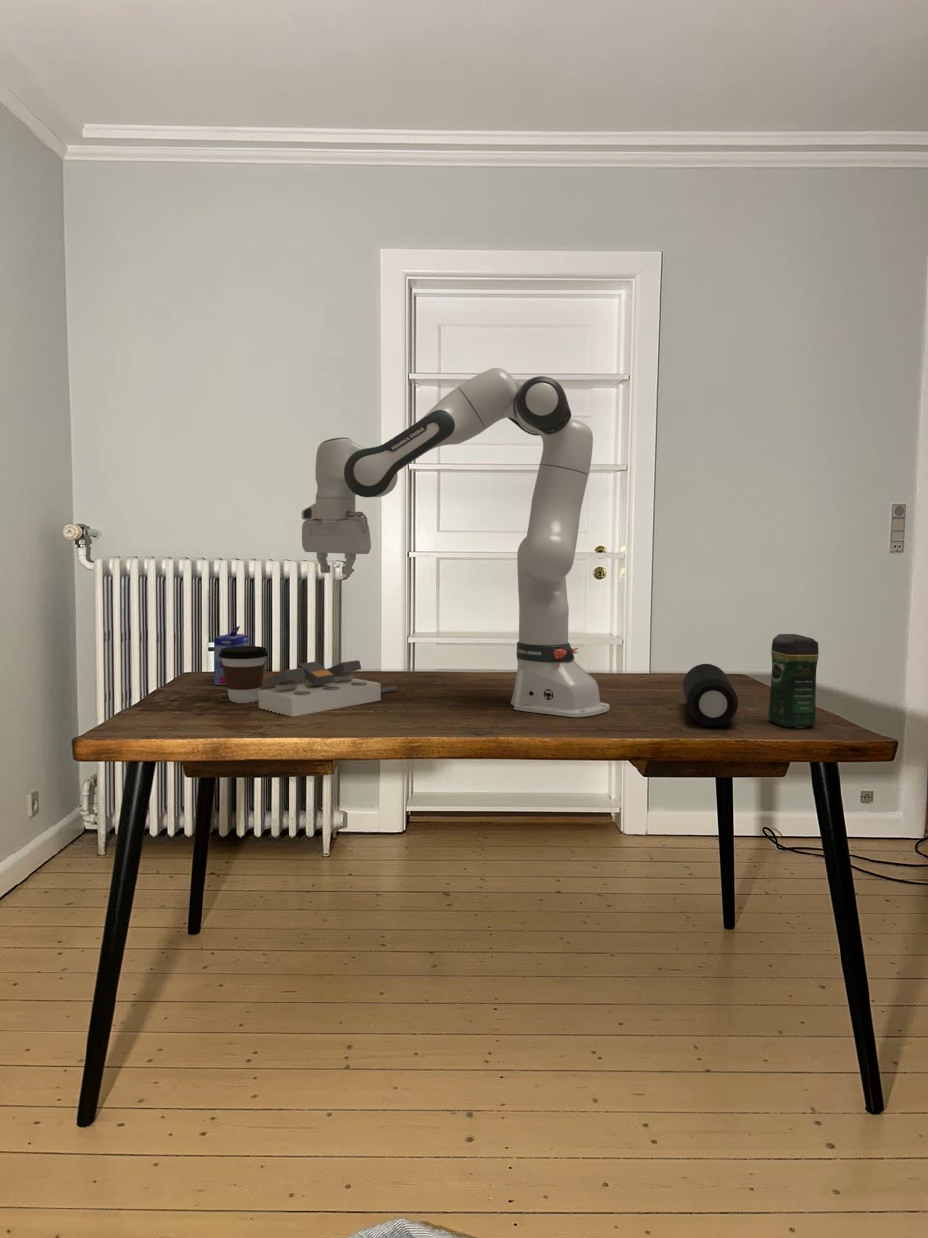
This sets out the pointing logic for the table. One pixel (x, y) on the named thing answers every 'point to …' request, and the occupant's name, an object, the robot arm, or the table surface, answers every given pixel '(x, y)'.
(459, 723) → the table surface
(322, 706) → the power strip
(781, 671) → the coffee jar
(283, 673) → the rocker
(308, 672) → the rocker
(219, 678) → the ink cartridge box
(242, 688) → the coffee cup
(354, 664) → the rocker
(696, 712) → the portable speaker
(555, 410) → the robot arm
